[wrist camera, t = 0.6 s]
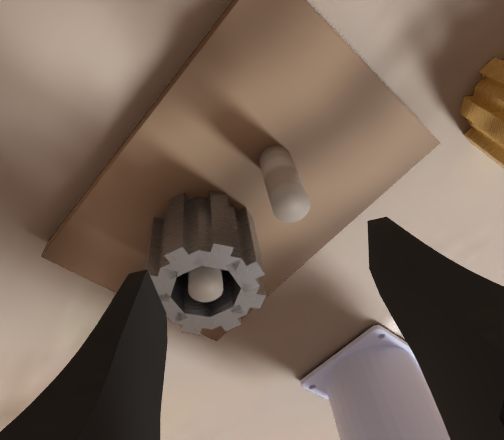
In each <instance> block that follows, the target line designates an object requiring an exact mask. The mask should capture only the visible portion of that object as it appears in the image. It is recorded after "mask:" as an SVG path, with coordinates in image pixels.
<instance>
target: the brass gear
mask: <svg viewBox="0 0 504 440" xmlns="http://www.w3.org/2000/svg"><path fill="white" fill-rule="evenodd" d="M479 72H480V74H481V75H482V76H483V77H484V78H483V79H482V80H481V81H480V82H479V83H478V84H477V85H476V86H475V89H474V93H473V96H464V97H463V101H462V105H461V110H460V114H461V115H463V116H464V117H465V118H467V123H468V124H469V125H470V126H471V127H472V128H470V129H469V130H468V131H467V132H466V133H465V134H464V135H465V136H466V137H467V139H468V140H469V141H470V142H471V143H472V144H473V145H474V146H476V147H477V148H478V149H479V150H481V151H482V152H483V153H485V154H486V155H487V156H488V157H490V158H491V159H492V160H494V161H495V162H496V163H497V164H499V165H500V166H501V167H503V168H504V60H501V59H498V58H496V57H494V58H493V59H492V60H491V61H489V62H488V63H487V64H486V65H485V66H484V67H483V68H482V69H481V70H480V71H479Z"/></svg>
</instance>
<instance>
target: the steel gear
mask: <svg viewBox="0 0 504 440" xmlns="http://www.w3.org/2000/svg"><path fill="white" fill-rule="evenodd" d="M200 266H206V267H211V268H217V269H222V281H223V292H222V294H221V296H220V297H219V298H217V299H216V300H213V301H210V302H199V301H196V300H194V299H193V298H192V297H191V296H190V295H189V292H188V272H189V271H191V270H193V269H195V268H197V267H200ZM145 270H148V272H149V274H150V277H151V279H152V281H153V284H154V286H155V288H156V290H157V293H158V295H159V297H160V300H161V302H162V304H163V306H164V309H165V311H166V316H167V318H169V320H170V321H171V322H172V323H173V324H178V325H181V332H182V333H189V334H196V335H199V334H200V332H201V329H202V328H205V329H214V328H216V327H219V326H222V328H223V329H224V330H225V331H228V330H230V329H233V328H235V327H237V326H240V325H242V321H241V317H242V316H244V315H247V313H248V310H249V308H250V307H251V308H257V309H260V307H261V305H262V303H263V301H264V299H265V297H266V292H265V287H264V282H263V277H262V276H263V275H265V272H264V267H263V262H262V258H261V253H260V248H259V243H258V239H257V234H256V229H255V224H254V220H253V218H252V216H251V214H250V213H249V211H248V209H247V208H246V207H245V208H243V209H240V210H238V211H237V209H236V208H235V206H234V204H232V203H228V198H227V194H226V193H222V192H218V191H213V190H210V191H209V194H208V197H207V198H206V197H202V196H196V197H194V198H192V199H190V200H189V199H188V197H187V196H186V195H185V193H182V194H180V195H178V196H176V197H174V198H172V199H170V200H169V203H168V210H167V211H165V215H164V219H160V218H156V217H154V218H153V222H152V226H151V230H150V236H149V243H148V250H147V258H146V265H145Z"/></svg>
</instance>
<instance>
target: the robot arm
mask: <svg viewBox="0 0 504 440" xmlns="http://www.w3.org/2000/svg"><path fill="white" fill-rule="evenodd" d="M368 244H369V269H370V271H371V274H372V276H373V279H374V281H375V284H376V286H377V289H378V291H379V293H380V296H381V298H382V299H383V301H384V303H385V305H386V307H387V308H388V310H389V312H390V314H391V315H392V317H393V319H394V321H395V322H396V324H397V326H398V328H399V329H400V331H401V333H402V335H403V336H404V338H405V340H406V342H405V341H404V340H402V339H401V338H399V337H397V336H396V335H394V334H393V333H391V332H390V331H388V330H387V329H385V328H383V327H382V326H380V325H374V326H372V327H371V328H369V329H368V330H367V331H365V332H364V333H363V334H361V335H360V336H359V337H357V338H356V339H355V340H353V341H352V342H351V343H349V344H348V345H347V346H345V347H344V348H343V349H341V350H340V351H339V352H337V353H336V354H335V355H333V356H332V357H331V358H329V359H328V360H327V361H325V362H324V363H323V364H321V365H320V366H319V367H317V368H316V369H315V370H313V371H312V372H311V373H309V374H308V375H307V376H305V377H304V378H303V379H302V380H301V386H302V387H303V388H305V389H307V390H309V391H311V392H313V393H315V394H317V395H319V396H322V397H324V398H326V399H328V400H329V401H330V405H331V408H332V412H333V415H334V419H335V422H336V426H337V429H338V432H339V436H340V439H341V440H504V286H501V285H499V284H497V283H494V282H492V281H490V280H488V279H486V278H484V277H482V276H480V275H478V274H476V273H474V272H472V271H470V270H468V269H466V268H464V267H462V266H460V265H459V264H457V263H455V262H453V261H452V260H450V259H448V258H446V257H445V256H443V255H442V254H440V253H438V252H437V251H435V250H434V249H432V248H431V247H429V246H428V245H426V244H425V243H423V242H422V241H420V240H419V239H417V238H416V237H414V236H413V235H411V234H410V233H409V232H407V231H406V230H404V229H403V228H402V227H400V226H399V225H397V224H396V223H395V222H393V221H392V220H390V219H389V218H387V217H383V218H379V219H374V220H370V221H368ZM166 351H167V316H166V311H165V309H164V306H163V304H162V302H161V300H160V297H159V295H158V293H157V290H156V288H155V286H154V284H153V281H152V279H151V277H150V274H149V272H148V270H142V271H138V272H133V273H129V274H128V276H127V277H126V279H125V280H124V282H123V283H122V285H121V287H120V288H119V290H118V292H117V293H116V295H115V297H114V298H113V300H112V302H111V303H110V305H109V306H108V308H107V310H106V311H105V313H104V314H103V316H102V317H101V319H100V321H99V322H98V324H97V325H96V327H95V328H94V330H93V331H92V332H91V334H90V335H89V337H88V338H87V339H86V341H85V342H84V344H83V345H82V346H81V348H80V349H79V351H78V352H77V353H76V354H75V356H74V357H73V358H72V359H71V361H70V362H69V363H68V364H67V365H66V367H65V368H64V369H63V370H62V371H61V372H60V374H59V375H58V376H57V377H56V378H55V379H54V380H53V381H52V382H51V383H50V384H49V386H48V387H47V388H46V389H45V390H44V391H43V392H42V393H41V394H40V395H39V396H38V397H37V398H36V399H35V400H34V401H33V402H32V403H31V404H30V405H29V406H28V407H27V408H26V409H25V410H24V411H23V412H22V413H21V414H20V415H19V416H17V417H16V418H15V419H14V420H13V421H12V422H11V423H10V424H9V425H7V426H6V427H5V428H4V429H3V430H2V431H1V432H0V440H160V413H161V400H162V391H163V381H164V371H165V361H166Z"/></svg>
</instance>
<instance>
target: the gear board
mask: <svg viewBox="0 0 504 440" xmlns="http://www.w3.org/2000/svg"><path fill="white" fill-rule="evenodd" d="M439 144H440V142H439V141H438V140H437V139H436V138H435V137H434V136H433V135H432V134H431V133H430V132H429V130H428V129H427V128H426V127H425V126H424V125H423V124H422V123H421V122H420V121H419V120H418V119H417V118H416V117H415V116H414V115H413V113H412V112H411V111H410V110H409V109H408V108H407V107H406V106H405V105H404V104H403V103H402V102H401V101H400V100H399V99H398V98H397V96H396V95H395V94H394V93H393V92H392V91H391V90H390V89H389V88H388V87H387V86H386V85H385V84H384V83H383V82H382V81H381V79H380V78H379V77H378V76H377V75H376V74H375V73H374V72H373V71H372V70H371V69H370V68H369V67H368V66H367V65H366V64H365V62H364V61H363V60H362V59H361V58H360V57H359V56H358V55H357V54H356V53H355V52H354V51H353V50H352V49H351V48H350V47H349V46H348V44H347V43H346V42H345V41H344V40H343V39H342V38H341V37H340V36H339V35H338V34H337V33H336V32H335V31H334V30H333V29H332V27H331V26H330V25H329V24H328V23H327V22H326V21H325V20H324V19H323V18H322V17H321V16H320V15H319V14H318V13H317V12H316V10H315V9H314V8H313V7H312V6H311V5H310V4H309V3H308V2H307V1H306V0H233V1H232V3H231V4H230V5H229V7H228V8H227V9H226V11H225V12H224V13H223V14H222V16H221V17H220V18H219V20H218V21H217V22H216V24H215V25H214V26H213V28H212V29H211V30H210V31H209V33H208V34H207V35H206V37H205V38H204V39H203V41H202V42H201V43H200V44H199V46H198V47H197V48H196V50H195V51H194V52H193V54H192V55H191V56H190V58H189V59H188V60H187V61H186V63H185V64H184V65H183V67H182V68H181V69H180V71H179V72H178V73H177V74H176V76H175V77H174V78H173V80H172V81H171V82H170V84H169V85H168V86H167V88H166V89H165V90H164V91H163V93H162V94H161V95H160V97H159V98H158V99H157V101H156V102H155V103H154V104H153V106H152V107H151V108H150V110H149V111H148V112H147V114H146V115H145V116H144V118H143V119H142V120H141V121H140V123H139V124H138V125H137V127H136V128H135V129H134V131H133V132H132V133H131V134H130V136H129V137H128V138H127V140H126V141H125V142H124V144H123V145H122V146H121V148H120V149H119V150H118V151H117V153H116V154H115V155H114V157H113V158H112V159H111V161H110V162H109V163H108V165H107V166H106V167H105V168H104V170H103V171H102V172H101V174H100V175H99V176H98V178H97V179H96V180H95V181H94V183H93V184H92V185H91V187H90V188H89V189H88V191H87V192H86V193H85V195H84V196H83V197H82V198H81V200H80V201H79V202H78V204H77V205H76V206H75V208H74V209H73V210H72V211H71V213H70V214H69V215H68V217H67V218H66V219H65V221H64V222H63V223H62V225H61V226H60V227H59V228H58V230H57V231H56V232H55V234H54V235H53V236H52V238H51V239H50V240H49V241H48V243H47V245H46V247H45V249H44V251H43V254H42V256H41V257H43V258H45V259H47V260H49V261H51V262H53V263H56V264H58V265H60V266H62V267H64V268H66V269H68V270H70V271H72V272H74V273H76V274H78V275H80V276H82V277H85V278H87V279H89V280H91V281H93V282H95V283H97V284H99V285H101V286H103V287H105V288H107V289H109V290H111V291H114V292H116V293H117V292H118V290H119V288H120V287H121V285H122V283H123V282H124V280H125V279H126V277H127V276H128V274H129V273H133V272H138V271H142V270H145V265H146V258H147V250H148V243H149V236H150V230H151V226H152V222H153V218H154V217H156V218H160V219H164V215H165V211H167V210H168V203H169V200H170V199H172V198H174V197H176V196H178V195H180V194H182V193H185V195H186V196H187V197H188V199H189V200H190V199H192V198H194V197H196V196H202V197H206V198H207V197H208V194H209V191H210V190H213V191H218V192H222V193H226V194H227V198H228V203H232V204H234V206H235V208H236V209H237V211H238V210H240V209H243V208H245V207H246V208H247V209H248V211H249V213H250V214H251V216H252V218H253V220H254V224H255V229H256V234H257V239H258V243H259V248H260V253H261V258H262V262H263V267H264V272H265V275H263V276H262V277H263V282H264V287H265V292H266V297H267V296H268V295H269V294H270V293H271V292H273V291H274V290H275V289H276V288H277V287H278V286H279V285H280V284H282V283H283V282H284V281H285V280H286V279H287V278H288V277H289V276H291V275H292V274H293V273H294V272H295V271H296V270H297V269H299V268H300V267H301V266H302V265H303V264H304V263H305V262H306V261H308V260H309V259H310V258H311V257H312V256H313V255H314V254H315V253H317V252H318V251H319V250H320V249H321V248H322V247H323V246H324V245H326V244H327V243H328V242H329V241H330V240H331V239H332V238H334V237H335V236H336V235H337V234H338V233H339V232H340V231H341V230H343V229H344V228H345V227H346V226H347V225H348V224H349V223H350V222H352V221H353V220H354V219H355V218H356V217H357V216H358V215H359V214H361V213H362V212H363V211H364V210H365V209H366V208H367V207H369V206H370V205H371V204H372V203H373V202H374V201H375V200H376V199H378V198H379V197H380V196H381V195H382V194H383V193H384V192H385V191H387V190H388V189H389V188H390V187H391V186H392V185H393V184H395V183H396V182H397V181H398V180H399V179H400V178H401V177H402V176H404V175H405V174H406V173H407V172H408V171H409V170H410V169H411V168H413V167H414V166H415V165H416V164H417V163H418V162H419V161H420V160H422V159H423V158H424V157H425V156H426V155H427V154H428V153H430V152H431V151H432V150H433V149H434V148H435V147H436V146H437V145H439ZM188 292H189V295H190V296H191V297H192V298H193V299H194V300H196V301H199V302H210V301H213V300H216V299H217V298H219V297H220V296H221V294H222V292H223V281H222V269H217V268H211V267H206V266H200V267H197V268H195V269H193V270H191V271H189V272H188ZM266 297H265V298H266ZM252 309H253V308H251V307H250V308H249V310H248V313H249V312H250V311H251V310H252ZM248 313H247V314H248ZM244 316H245V315H244ZM244 316H242V317H241V319H242V318H243V317H244ZM226 332H227V331H225V330H224V329H223V328H222V326H219V327H216V328H214V329H205V328H202V329H201V332H200V333H201V334H203V335H205V336H207V337H209V338H211V339H213V340H215V341H217V340H218V339H219V338H221V337H222V336H223V335H224V334H225V333H226Z"/></svg>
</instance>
